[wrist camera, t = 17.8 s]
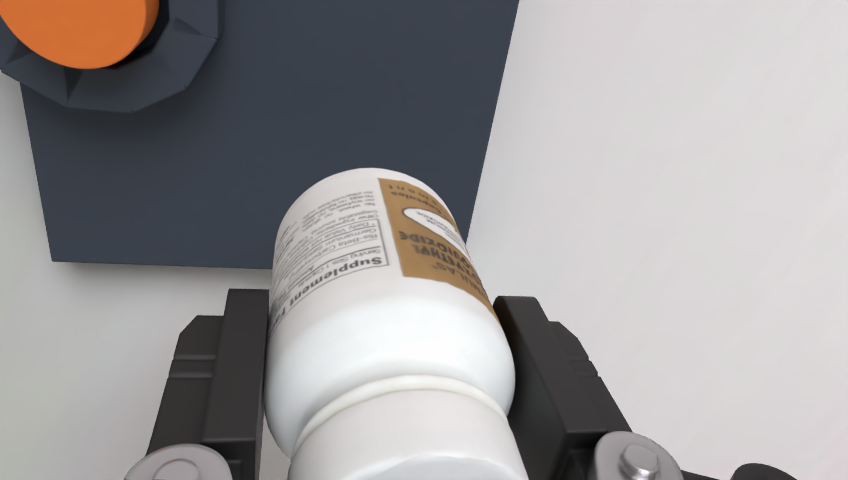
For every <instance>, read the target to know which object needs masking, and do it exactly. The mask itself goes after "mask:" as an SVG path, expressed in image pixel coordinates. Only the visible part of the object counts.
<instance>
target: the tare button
mask: <svg viewBox="0 0 848 480" xmlns="http://www.w3.org/2000/svg"><path fill="white" fill-rule="evenodd" d="M158 10H159V0H0V15H1V17H2V19H3V20H4V22H5V23H6V25H7V26H8V28H9V29H10V30H11V31H12V32H13V34H14V35H15V36H16V37H17V38H18V39H19V40H20V41H21V42H22V43H23V44H25V45H26V46H27V47H29V48H30V49H31V50H32V51H34V52H36V53H37V54H39V55H40V56H42V57H44V58H46V59H48V60H50V61H52V62H55V63H57V64H60V65H64V66H67V67H72V68H78V69H97V68H102V67H107V66H110V65H112V64H115V63H117V62H119V61H121V60H122V59H124V58H125V57H126V56H128V55H129V54H130V53H131V52H132V51H133V50H134V49H135V48H136V47H137V46H138V45H139V44H140V43H141V42H142V41H143V40H144V39H145V38H146V37H147V36H148V34H149V33H150V31H151V30H152V28H153V26H154V24H155V22H156V19H157V16H158Z"/></svg>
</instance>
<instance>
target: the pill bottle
mask: <svg viewBox="0 0 848 480" xmlns="http://www.w3.org/2000/svg"><path fill="white" fill-rule="evenodd" d="M514 391H515V368H514V362H513V357H512V353H511V350H510V347H509V345H508V342H507V339H506V337H505V334H504V332H503V329H502V327H501V325H500V322H499V320H498V317H497V316H496V314H495V312H494V310H493V307H492V305H491V303H490V301H489V299H488V296H487V294H486V292H485V290H484V288H483V286H482V283H481V280H480V279H479V277H478V274H477V272H476V269H475V267H474V265H473V263H472V261H471V259H470V256H469V253H468V250H467V248H466V246H465V243H464V242H463V240H462V237H461V235H460V232H459V230H458V228H457V226H456V223H455V221H454V218H453V216H452V215H451V213H450V211H449V209H448V208H447V206H446V205H445V203H444V202H443V201H442V199H441V198H440V197H439V196H438V195H437V194H436V193H435V192H434V191H433V190H432V189H431V188H429V187H428V186H427V185H426V184H424V183H423V182H421V181H419V180H417V179H415V178H413V177H410V176H408V175H406V174H403V173H400V172H396V171H392V170H387V169H380V168H358V169H353V170H348V171H344V172H341V173H338V174H334V175H332V176H330V177H327V178H325V179H323V180H321V181H319V182H318V183H316V184H315V185H313V186H312V187H310V188H309V189H308V190H306V191H305V192H304V193H303V194H302V195H301V196H300V197H299V198H298V199H297V200H296V201H295V202H294V203H293V204H292V206H291V207H290V208H289V210H288V211H287V213H286V215H285V216H284V218H283V220H282V222H281V224H280V227H279V230H278V233H277V238H276V242H275V252H274V259H273V268H272V282H271V296H270V306H269V321H268V333H267V346H266V359H265V371H264V395H263V396H264V410H265V416H266V420H267V424H268V427H269V429H270V432H271V434H272V436H273V438H274V440H275V442H276V444H277V445H278V447H279V448H280V449H281V450H282V452H283V453H284V454H285V455H286V456H287V457H288V458H289V459H290V460H291V464H290V467H289V471H288V479H287V480H529V478H528V476H527V473H526V470H525V467H524V464H523V462H522V459H521V456H520V453H519V450H518V447H517V444H516V441H515V438H514V435H513V432H512V431H511V429H510V427H509V424H508V420H507V418H506V417H507V415H508V413H509V410H510V407H511V404H512V401H513V396H514Z"/></svg>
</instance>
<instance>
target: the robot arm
mask: <svg viewBox="0 0 848 480" xmlns="http://www.w3.org/2000/svg"><path fill="white" fill-rule="evenodd" d="M493 310H494V312H495V314H496V316H497V317H498V320H499V322H500V325H501V327H502V329H503V332H504V334H505V337H506V339H507V342H508V345H509V347H510V350H511V353H512V357H513V362H514V368H515V391H514V396H513V401H512V404H511V407H510V410H509V413H508V415H507V417H506V418H507V420H508V424H509V427H510V429H511V431H512V432H513V435H514V438H515V441H516V444H517V447H518V450H519V453H520V456H521V459H522V462H523V464H524V467H525V470H526V473H527V476H528V478H529V480H718V479H714V478H710V477H706V476H702V475H698V474H694V473H690V472H686V471H683V470H680V468H679V466H678V464H677V463H676V461H675V460H674V459H673V457H672V456H671V455H670V454H669V453H668V452H667V451H666V450H665V449H664V448H663V447H661V446H660V445H659V444H657V443H656V442H654V441H652V440H651V439H649V438H647V437H644V436H642V435H639V434H636V433H633V432H632V430H631V428H630V427H629V425H628V423H627V422H626V420H625V418H624V416H623V415H622V413H621V411H620V410H619V408H618V406H617V404H616V403H615V401H614V399H613V398H612V396H611V394H610V393H609V391H608V389H607V387H606V386H605V384H604V382H603V381H602V379H601V377H598V372H597V370H596V369H595V367H594V365H593V364H592V362H591V361H589V359H588V358H589V357H588V355H587V353H586V352H585V350H584V348H583V346H582V345H581V343H580V341H579V340H578V338H577V337H576V336H575V335H573V334H572V333H571V332H570V331H569V330H568V329H567V328H565V327H564V326H563V325H562V324H561V323H560V322H551V321H548V319H547V317H546V315H545V313H544V311H543V309H542V308H541V306H540V304H539V302H538V301H537V299H536V298H535V297H524V296H498V297H497V298H496V299H495V301H494V304H493ZM268 321H269V290H266V289H229V291H228V295H227V301H226V306H225V311H224V316H202V315H197V316H196V317H195V318H194V319H193V320H192V321H191V322H190V323H189V325H188V326H187V327H186V328H185V329H184V330H183V331H182V332H181V333H180V335H179V338H178V342H177V345H176V349H175V353H174V359H173V360H172V364H171V367H170V371H169V378H167V382H166V386H165V389H164V393H163V396H162V400H161V404H160V407H159V411H158V415H157V418H156V422H155V426H154V429H153V433H152V437H151V440H150V444H149V447H148V450H147V453H146V455H145V457H144V458H142V459H141V460H140V461H139V462H137V463H136V464H135V465H134V466H133V467H132V468H131V470H130V471H129V472H128V474H127V475H126V476H125V478H124V480H259V471H260V458H261V445H262V432H263V419H264V396H263V395H264V371H265V359H266V346H267V333H268ZM730 480H797V479H795V478H794V477H792V476H790V475H789V474H787V473H785V472H783V471H781V470H779V469H777V468H774V467H771V466H768V465H764V464H757V463H750V464H745V465H742V466H740V467H739V468H738V469H737V470H736V471H735V472H734V474H733V476H732V477H731V479H730Z"/></svg>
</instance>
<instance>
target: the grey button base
mask: <svg viewBox="0 0 848 480" xmlns="http://www.w3.org/2000/svg"><path fill="white" fill-rule="evenodd" d="M518 4H519V0H159V10H158V16H157V19H156V22H155V24H154V26H153V28H152V30H151V31H150V33H149V34H148V36H147V37H146V38H145V39H144V40H143V41H142V42H141V43H140V44H139V45H138V46H137V47H136V48H135V49H134V50H133V51H132V52H131V53H130V54H129V55H128V56H126V57H125V58H124V59H122V60H121V61H119V62H117V63H115V64H112V65H110V66H107V67H102V68H97V69H78V68H72V67H67V66H64V65H60V64H57V63H55V62H52V61H50V60H48V59H46V58H44V57H42V56H40V55H39V54H37V53H36V52H34V51H32V50H31V49H30V48H29V47H27V46H26V45H25V44H23V43H22V42H21V41H20V40H19V39H18V38H17V37H16V36H15V35H14V34H13V32H12V31H11V30H10V29H9V28H8V26H7V25H6V23H5V22H4V20H3V19H2V17H1V15H0V69H1V70H2V71H1V72H3V73H4V74H6V75H8V76H10V77H12V78H13V79H15V80H17V81H19V82H20V85H21V91H22V97H23V102H24V108H25V113H26V119H27V125H28V130H29V136H30V141H31V147H32V152H33V158H34V164H35V169H36V175H37V180H38V186H39V191H40V197H41V203H42V208H43V214H44V219H45V225H46V231H47V236H48V242H49V247H50V253H51V258H52V261H54V262H82V263H110V264H138V265H166V266H194V267H222V268H250V269H272V268H273V259H274V252H275V242H276V238H277V233H278V230H279V227H280V224H281V222H282V220H283V218H284V216H285V215H286V213H287V211H288V210H289V208H290V207H291V206H292V204H293V203H294V202H295V201H296V200H297V199H298V198H299V197H300V196H301V195H302V194H303V193H304V192H305V191H306V190H308V189H309V188H310V187H312V186H313V185H315V184H316V183H318V182H319V181H321V180H323V179H325V178H327V177H330V176H332V175H334V174H338V173H341V172H344V171H348V170H353V169H358V168H380V169H387V170H392V171H396V172H400V173H403V174H406V175H408V176H410V177H413V178H415V179H417V180H419V181H421V182H423V183H424V184H426V185H427V186H428V187H429V188H431V189H432V190H433V191H434V192H435V193H436V194H437V195H438V196H439V197H440V198H441V199H442V201H443V202H444V203H445V205H446V206H447V208H448V209H449V211H450V213H451V215H452V216H453V218H454V221H455V223H456V226H457V228H458V230H459V232H460V235H461V237H462V240H463V242H464V243H465V246H466V242H467V237H468V233H469V228H470V223H471V219H472V214H473V210H474V205H475V201H476V196H477V191H478V187H479V182H480V178H481V173H482V168H483V164H484V159H485V155H486V150H487V146H488V141H489V136H490V132H491V127H492V123H493V118H494V114H495V109H496V104H497V100H498V95H499V91H500V86H501V82H502V77H503V72H504V68H505V63H506V59H507V54H508V50H509V45H510V40H511V36H512V31H513V27H514V22H515V18H516V13H517V8H518Z"/></svg>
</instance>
